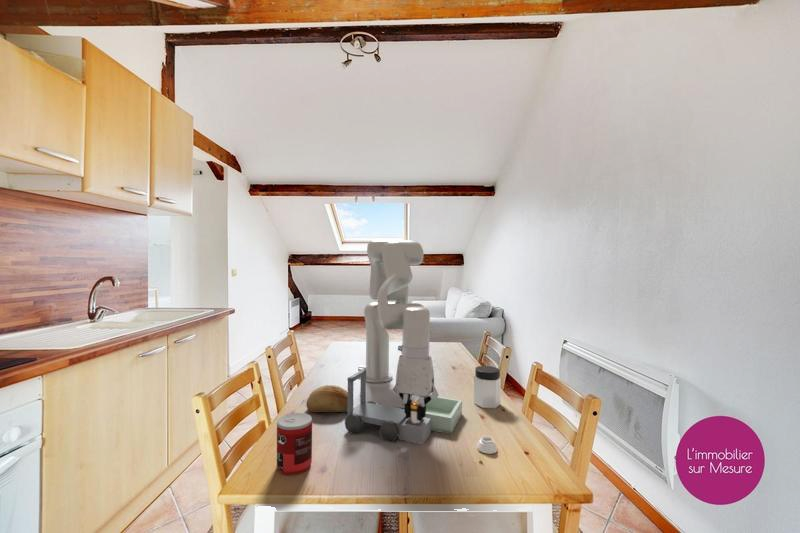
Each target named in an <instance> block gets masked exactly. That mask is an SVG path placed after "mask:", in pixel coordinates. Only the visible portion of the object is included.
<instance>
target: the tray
mask: <svg viewBox="0 0 800 533" xmlns="http://www.w3.org/2000/svg"><path fill="white" fill-rule="evenodd" d="M414 401H416V402H420V396H417V397H416V398H415V399H414V400H412V402H414ZM462 414H463V400H461V399H457V398H451V397H450V398H449V397H444V396H438V397H437V398H436V399H434V400H431V401H429V402H428V403H427V404H426V415H425V418H430V419H431V431H433V432H434V431H435V432H439V433H444V434H448V435H452V433H453V431H454V430H455V428H456V426H457V424H458V422H459V420H460V418H461V417H462Z"/></svg>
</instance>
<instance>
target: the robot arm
mask: <svg viewBox="0 0 800 533" xmlns="http://www.w3.org/2000/svg"><path fill="white" fill-rule="evenodd" d="M422 246H423V245H421V243H420V242H418V241H415V240H406V239H405V240H404V239H372V240H370V241H369V242H368V243H367V246H366V248H367V249H366V253H367V254H366V255H367V258H368V260H369V266H370V277H369V296H370V298H371V300H373V301H374V302H369V303H367V304H366V306H365V307H364V309H363V310H364V311H363V316H364V322H365V366H364V365H358V367H357V370H358V372H359V371H361V370H366V383H373V384H382V383H387V382H390V381H391V380H392V379H393V374H392V373H391V372H390V368H389V367H390V335H389V333H388V331H387V330H402V344H401V345H397V346H398V347H397V351H400V352H401V355H399V357H398V361H397V366H396V375H395V385H394V387H393V389H392V391H393V392H394V393H396V395H398V397H399V398H400V399H401V400H402V402H403V404H404V407H405V414H406V418H409V417H410V402H413V400H411V396H417V397H418V396H420V405H419V407H418V420H419V421H421V420H422V419H423V418H424V417H425V415H426V404H427V403H428V402H429V401H431V400H434V399H436V398H437V397H440V395H439V392H438V390H437V388H436V386H435V372H434V363H433V359H432V356H430V335H431V334H430V331H431V330H430V328H431V326H430V324H431V322H430V320H431V316H430V314H431V313H430V310H429V308H427V307H425V306H424V305H423V304H421V303H415V302H414V303H413V302H412V303H411V302H410V303H409V302H408V301H409V290H410V289H409V284H410V283H412V280H413V272H412V268H411V266H419V265H421V264H422V262H423V261H424V257H425V256H424V249H423V247H422Z"/></svg>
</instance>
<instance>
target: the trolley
mask: <svg viewBox="0 0 800 533" xmlns="http://www.w3.org/2000/svg"><path fill="white" fill-rule="evenodd" d="M358 379H360V394H359V395H360V396H359V397H360V398H359V399H360V400H359V401H360V403H359V404H357V405H356V406H355V407H354V382H355V381H357V380H358ZM347 392H348V403H347V411H346V412H347V415H346V416H347V417H346V418H345V420H344V426H345V429H346V430H347V431H348V432H349V433H351V434H357V433H359V431H361V430H362V428H363V424H364V423H368V424H372V425H377V426H380V427H379V433H380V436H381V438H382V439H383V440H384V441H385V442H389V443H391V442H394V441H395V440H396V439H397V438H398V440H402V441H406V442H411V443H415V444H420V445H424V443H425V442H426V440H428V438H429V436H430V434H432V430H431V419H430V418H425V417H424V418H423V419H422V420H421V421H420V426H416V425H411V424H410V417H409V418H406V414H405V405H403V406H400V407H395V406H394V407H393V406H390V405H389V406H388V405H382V404H378V403H377V402H376V401H374V400H367V401H366V397H367V396H366V395H367V394H366V392H367V382H366V370H361V371H358V372H355V373H354V374H352V375H350V376H349V377H347Z"/></svg>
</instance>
